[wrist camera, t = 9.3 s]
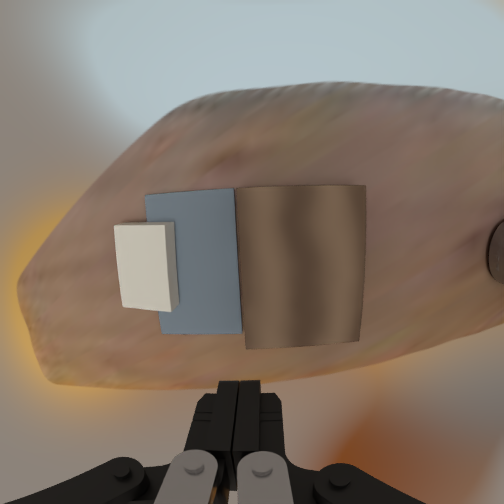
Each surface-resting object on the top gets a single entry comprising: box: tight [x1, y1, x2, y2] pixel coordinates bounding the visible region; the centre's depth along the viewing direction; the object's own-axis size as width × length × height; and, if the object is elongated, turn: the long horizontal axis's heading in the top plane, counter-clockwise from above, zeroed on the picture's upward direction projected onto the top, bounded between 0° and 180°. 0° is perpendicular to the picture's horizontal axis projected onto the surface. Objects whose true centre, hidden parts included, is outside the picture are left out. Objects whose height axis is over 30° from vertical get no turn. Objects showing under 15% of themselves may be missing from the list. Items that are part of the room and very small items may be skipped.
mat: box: [145, 188, 242, 334], centre depth 32 cm, size 10×16×1 cm, turn 3°
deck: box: [236, 185, 366, 349], centre depth 30 cm, size 12×16×4 cm
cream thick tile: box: [114, 222, 179, 312], centre depth 31 cm, size 6×9×2 cm, turn 0°
